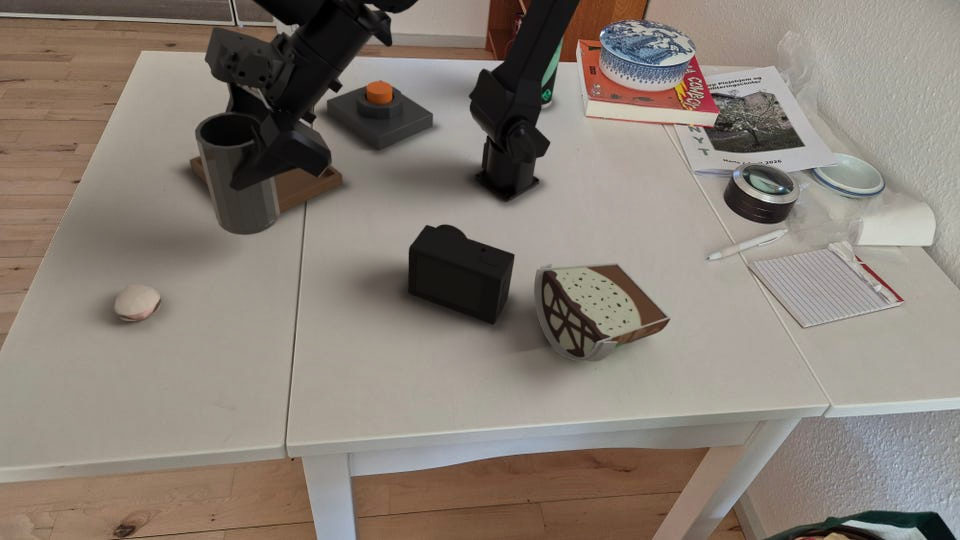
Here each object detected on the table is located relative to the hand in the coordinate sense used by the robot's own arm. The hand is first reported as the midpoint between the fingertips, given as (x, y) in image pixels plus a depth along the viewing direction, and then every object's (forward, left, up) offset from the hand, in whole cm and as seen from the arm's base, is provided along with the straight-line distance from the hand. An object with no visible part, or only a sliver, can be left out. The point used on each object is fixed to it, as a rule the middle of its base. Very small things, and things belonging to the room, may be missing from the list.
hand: (224, 168), depth 68 cm
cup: (0, -1, -7) cm, 7 cm away
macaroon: (-1, +12, -12) cm, 17 cm away
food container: (-36, -26, -10) cm, 46 cm away
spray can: (+2, -53, -12) cm, 54 cm away
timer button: (+12, -29, -8) cm, 33 cm away
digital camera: (-21, -14, -12) cm, 28 cm away
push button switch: (+12, -29, -11) cm, 34 cm away
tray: (+10, -9, -11) cm, 18 cm away
